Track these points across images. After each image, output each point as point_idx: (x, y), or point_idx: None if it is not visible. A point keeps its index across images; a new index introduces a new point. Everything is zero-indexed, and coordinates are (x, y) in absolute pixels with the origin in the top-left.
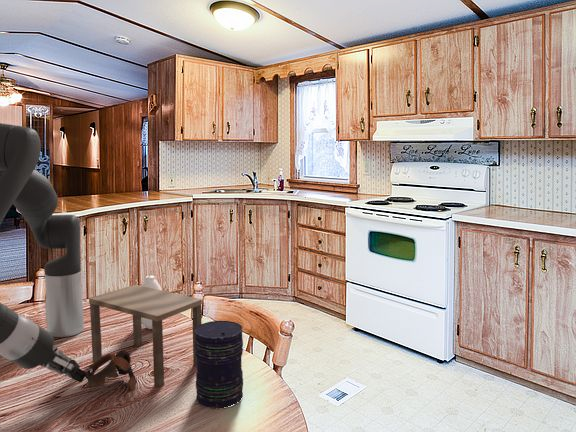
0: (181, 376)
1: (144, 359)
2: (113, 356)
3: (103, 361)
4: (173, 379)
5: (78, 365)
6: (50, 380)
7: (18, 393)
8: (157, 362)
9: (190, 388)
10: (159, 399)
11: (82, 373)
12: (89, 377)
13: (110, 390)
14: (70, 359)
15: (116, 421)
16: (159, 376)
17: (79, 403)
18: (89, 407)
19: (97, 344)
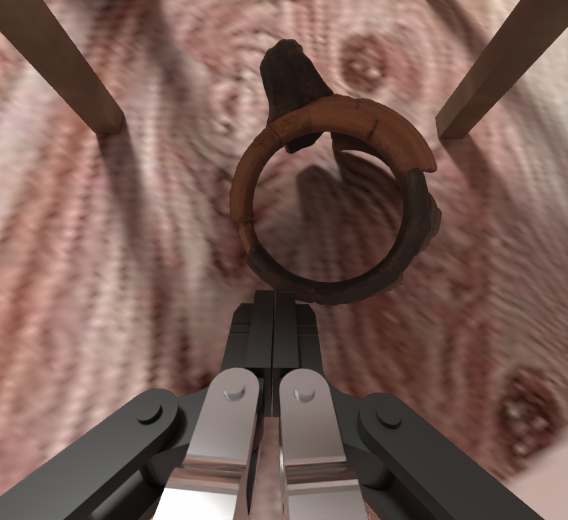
0: (453, 55)
1: (245, 32)
2: (381, 131)
3: (267, 161)
4: (450, 80)
5: (470, 461)
6: (53, 311)
7: (16, 469)
8: (539, 50)
9: (546, 95)
10: (535, 192)
11: (315, 328)
12: (332, 301)
13: (339, 237)
14: (357, 483)
15: (563, 378)
16: (490, 105)
17: (328, 369)
18: (389, 367)
19: (61, 50)
